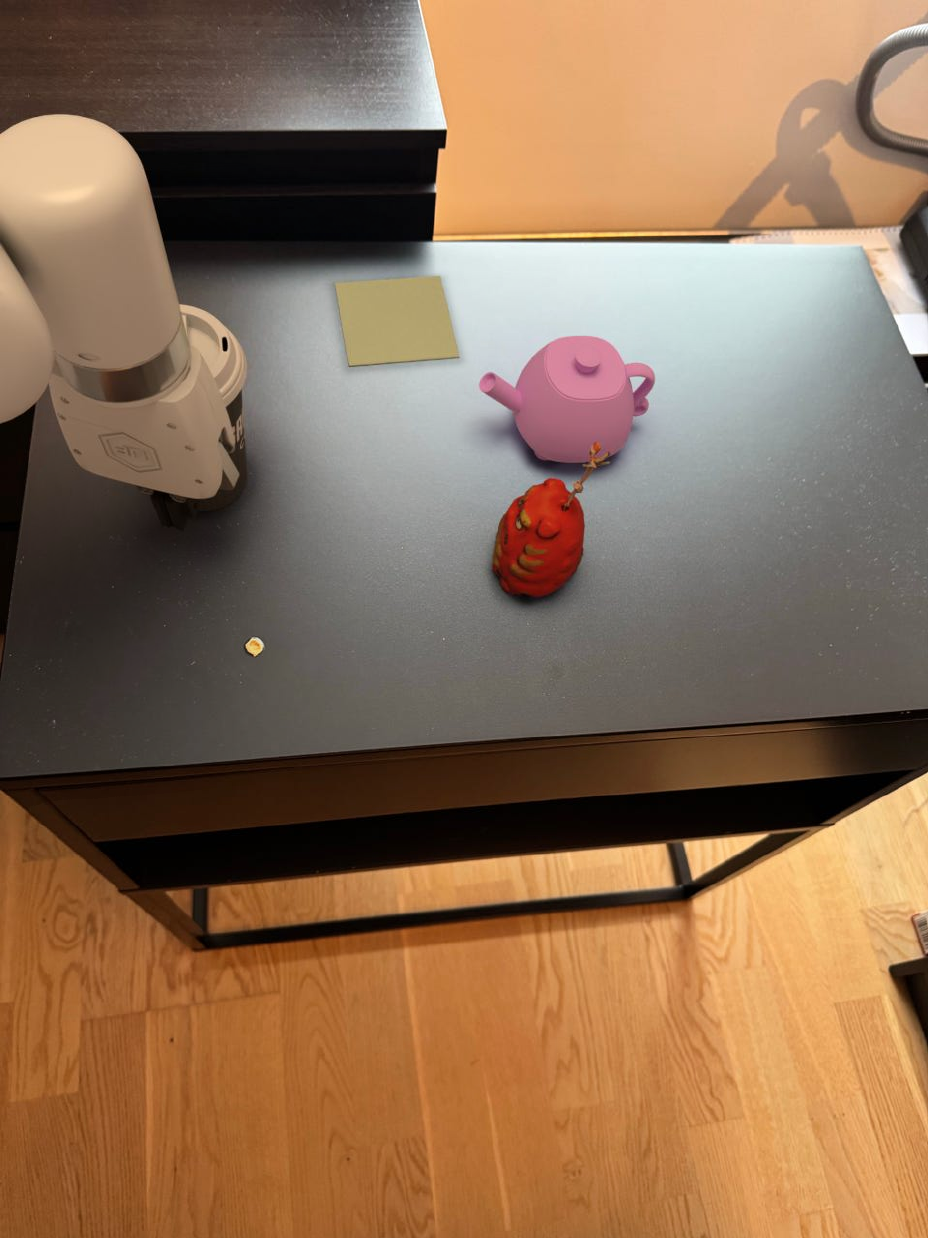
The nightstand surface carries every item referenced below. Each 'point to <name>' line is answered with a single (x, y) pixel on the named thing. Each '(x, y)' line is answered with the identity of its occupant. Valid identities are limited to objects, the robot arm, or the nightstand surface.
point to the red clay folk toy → (542, 536)
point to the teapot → (574, 398)
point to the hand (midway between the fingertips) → (180, 513)
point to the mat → (395, 321)
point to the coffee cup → (222, 387)
